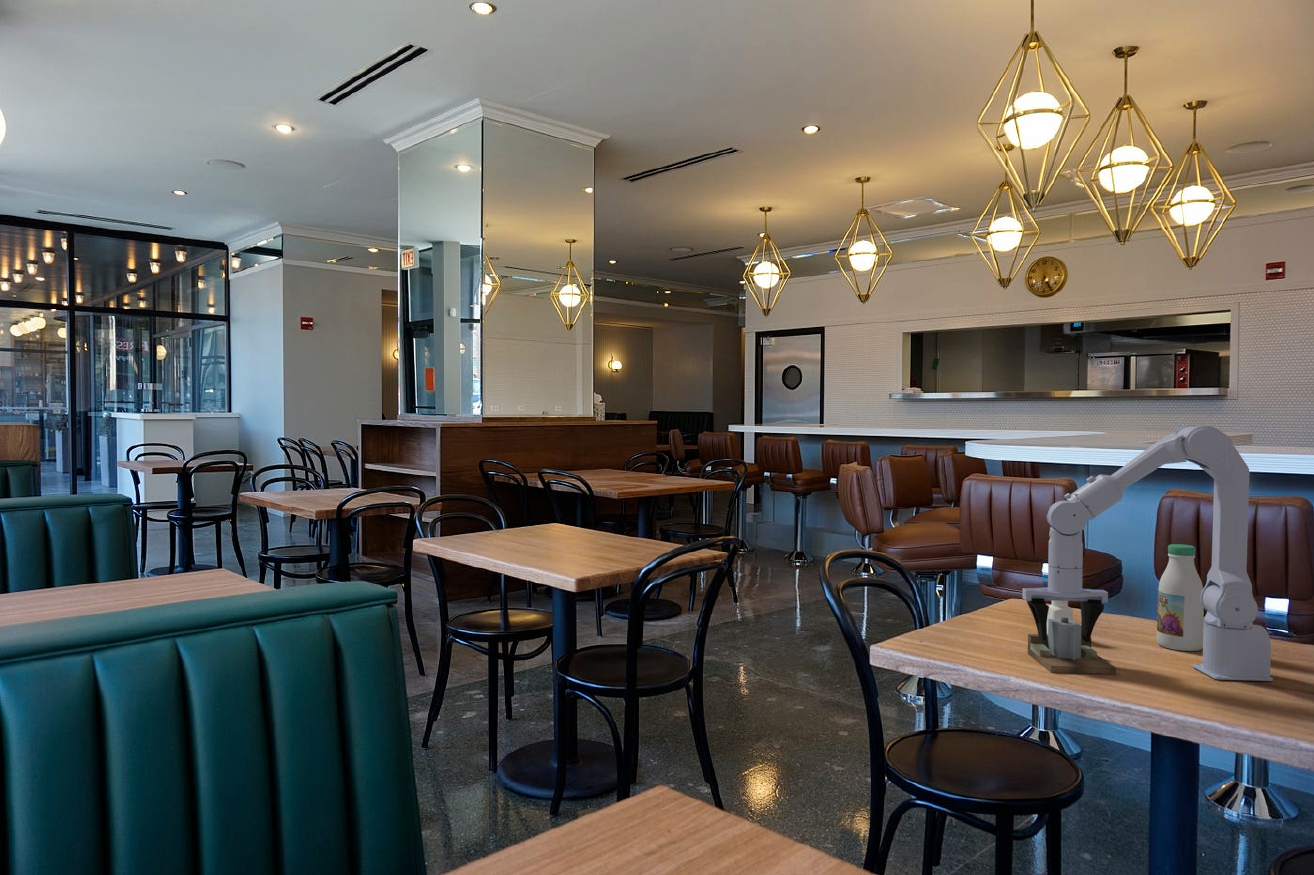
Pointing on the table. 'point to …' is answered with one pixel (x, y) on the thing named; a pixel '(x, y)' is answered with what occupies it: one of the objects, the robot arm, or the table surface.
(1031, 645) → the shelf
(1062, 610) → the pepper shaker
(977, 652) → the table surface
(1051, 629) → the grey knobbed box
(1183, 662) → the table surface
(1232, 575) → the robot arm
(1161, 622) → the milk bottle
